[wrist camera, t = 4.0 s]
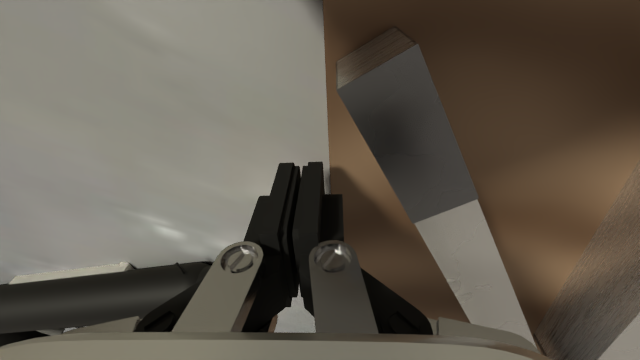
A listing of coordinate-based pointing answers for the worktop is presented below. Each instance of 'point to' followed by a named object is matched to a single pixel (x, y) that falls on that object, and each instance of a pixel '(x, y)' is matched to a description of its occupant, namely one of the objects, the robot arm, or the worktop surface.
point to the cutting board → (498, 134)
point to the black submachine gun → (88, 297)
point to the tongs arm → (428, 172)
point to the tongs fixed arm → (601, 291)
